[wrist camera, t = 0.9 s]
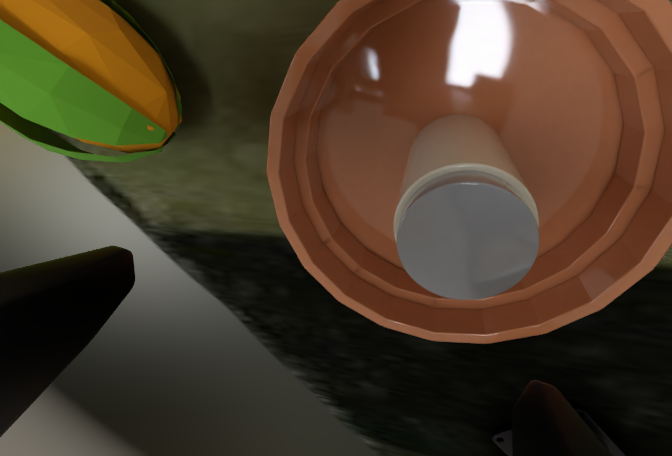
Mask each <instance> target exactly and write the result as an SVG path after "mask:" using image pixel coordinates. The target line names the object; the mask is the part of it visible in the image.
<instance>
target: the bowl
mask: <svg viewBox="0 0 672 456" xmlns="http://www.w3.org/2000/svg"><path fill="white" fill-rule="evenodd" d="M454 114H463V115H469V116H473V117H476V118H479V119H481V120H482V121H484V122H486V123H487V124H488V125H490V126H491V127H492V128H493V130H494V131H495V132H496V134H497V135H498V137H499V138H500V140H501V142H502V144H503V146H504V147H505V149H506V151H507V153H508V154H509V156H510V158H511V160H512V161H513V163H514V165H515V167H516V168H517V170H518V172H519V174H520V176H521V177H522V179H523V181H524V183H525V184H526V186H527V188H528V190H529V191H530V193H531V195H532V197H533V199H534V201H535V203H536V206H537V210H538V215H539V235H540V243H539V250H538V254H537V257H536V259H535V262H534V263H533V265H532V267H531V269H530V270H529V271H528V273H527V274H526V275H525V276H524V277H523V278H522V279H521V280H520V281H519V282H518V283H517V284H515V285H514V286H513V287H511V288H509V289H508V290H506V291H504V292H502V293H499V294H497V295H494V296H491V297H488V298H483V299H476V300H458V299H451V298H446V297H443V296H439V295H437V294H434V293H432V292H430V291H428V290H426V289H425V288H423V287H422V286H420V285H419V284H418V283H417V282H415V281H414V280H413V279H412V278H411V277H410V275H409V274H408V273H407V272H406V270H405V269H404V267H403V265H402V263H401V261H400V259H399V255H398V252H397V244H396V240H395V237H394V230H393V223H394V215H395V211H396V206H397V202H398V198H399V194H400V189H401V185H402V181H403V177H404V172H405V168H406V164H407V160H408V155H409V151H410V148H411V145H412V143H413V141H414V139H415V138H416V136H417V135H418V133H419V132H420V131H421V130H422V129H423V128H424V127H425V126H427V125H428V124H429V123H431V122H433V121H434V120H436V119H439V118H441V117H444V116H448V115H454ZM267 176H268V180H269V184H270V188H271V193H272V197H273V201H274V205H275V209H276V214H277V218H278V222H279V225H280V227H281V228H282V230H283V232H284V233H285V235H286V237H287V239H288V240H289V242H290V244H291V246H292V247H293V249H294V251H295V253H296V254H297V256H298V258H299V259H300V261H301V263H302V265H303V266H304V268H305V269H306V270H307V271H308V272H309V273H310V274H311V275H312V276H313V277H314V278H315V279H316V280H317V281H318V282H320V283H321V284H322V285H323V286H324V287H325V288H326V289H327V290H328V291H329V292H330V293H331V294H332V295H333V296H334V297H335V298H336V299H337V300H338V301H340V302H341V303H342V304H344V305H346V306H348V307H349V308H351V309H353V310H355V311H356V312H358V313H360V314H362V315H363V316H365V317H367V318H369V319H370V320H372V321H374V322H376V323H377V324H379V325H381V326H383V327H386V328H389V329H393V330H396V331H400V332H403V333H406V334H410V335H413V336H417V337H420V338H424V339H427V340H431V341H432V340H433V341H442V342H460V343H479V344H486V343H487V344H489V343H495V342H501V341H506V340H512V339H518V338H524V337H529V336H535V335H541V334H544V333H548V332H550V331H553V330H555V329H557V328H560V327H562V326H564V325H566V324H569V323H571V322H573V321H576V320H578V319H580V318H583V317H585V316H587V315H590V314H592V313H594V312H597V311H599V310H601V308H604V307H605V306H607V305H608V304H609V303H610V302H612V301H613V300H614V299H616V298H617V297H618V296H619V295H621V294H622V293H623V292H625V291H626V290H627V289H628V288H630V287H631V286H632V285H634V284H635V283H636V282H637V281H639V280H640V279H641V278H643V277H644V276H645V275H646V274H648V273H649V272H650V271H652V270H653V269H654V267H656V266H657V264H658V263H659V261H660V260H661V259H662V257H663V256H664V254H665V253H666V252H667V250H668V249H669V247H670V246H671V245H672V4H671V3H670V1H669V0H339V1H338V2H337V3H336V5H335V6H334V7H333V8H332V9H331V11H330V12H329V13H328V14H327V15H326V17H325V18H324V19H323V20H322V21H321V23H320V24H319V25H318V26H317V27H316V29H315V30H314V31H313V32H312V33H311V35H310V36H309V37H308V38H307V39H306V41H305V42H304V43H303V44H302V45H301V47H300V48H299V49H298V50H297V51H296V53H295V55H294V57H293V60H292V62H291V64H290V67H289V69H288V72H287V74H286V77H285V79H284V82H283V84H282V87H281V89H280V92H279V94H278V97H277V99H276V102H275V104H274V107H273V109H272V112H271V115H270V129H269V143H268V157H267Z"/></svg>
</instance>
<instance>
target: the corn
mask: <svg viewBox="0 0 672 456" xmlns="http://www.w3.org/2000/svg"><path fill="white" fill-rule="evenodd" d="M0 122H1V123H3V124H4V125H6V126H7V127H9V128H10V129H12V130H13V131H15V132H16V133H18V134H20V135H21V136H22V137H24V138H26V139H28V140H29V141H31V142H33V143H36V144H37V145H39V146H41V147H43V148H45V149H47V150H49V151H52V152H56V153H59V154H63V155H66V156H70V157H73V158H77V159H80V160H94V161H110V162H128V161H133V160H136V159H139V158H143V157H146V156H149V155H152V154H155V153H159V152H161V151H162V149H163V146H164V145H166V144H168V143H169V142H170V141H171V140H172V139H173V138H174V137H175V136H176V133H175V132H174V130H175V129H176V128H177V129H179V125H180V123H181V122H182V105H181V97H180V94H179V91H178V89H177V87H176V84H175V80H174V77H173V75H172V73H171V72H170V70H169V68H168V66H167V64H166V63H165V61H164V59H163V57H162V55H161V54H160V52H159V50H158V48H157V46H156V45H155V44H154V43H153V41H152V40H151V39H150V38H149V37H148V35H147V34H146V33H145V32H144V31H143V30H142V28H141V27H140V26H139V25H138V24H137V22H136V21H135V20H134V19H133V18H132V16H131V15H130V14H129V13H128V12H127V11H125V10H124V9H123V8H122V7H121V6H119V5H118V4H117V3H116V2H115V1H113V0H0ZM39 124H40V125H42V126H45V127H47V128H50V129H52V130H55V131H57V132H60V133H63V134H65V135H68V136H70V137H74V138H76V139H78V140H80V141H82V142H86V143H90V144H94V145H98V146H102V147H106V148H110V149H114V150H118V151H122V152H126V153H134V152H140V151H148V152H141V153H135V154H128V155H122V156H115V157H110V156H102V155H95V154H92V153H89V152H86V151H83V150H80V149H78V148H76V147H75V146H73V145H71V144H70V143H68V142H66V141H65V140H63V139H62V138H60V137H58V136H57V135H55V134H53V133H52V132H50V131H48V130H47V129H45V128H43V127H42V126H40V125H39ZM177 129H176V130H177Z"/></svg>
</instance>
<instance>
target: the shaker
mask: <svg viewBox="0 0 672 456" xmlns="http://www.w3.org/2000/svg"><path fill="white" fill-rule="evenodd" d="M393 230H394V237H395V240H396V244H397V252H398V255H399V259H400V261H401V263H402V265H403V267H404V269H405V270H406V272H407V273H408V274H409V275H410V277H411V278H412V279H413V280H414V281H415V282H417V283H418V284H419V285H420V286H422V287H423V288H425V289H426V290H428V291H430V292H432V293H434V294H437V295H439V296H443V297H446V298H451V299H458V300H476V299H483V298H488V297H491V296H494V295H497V294H499V293H502V292H504V291H506V290H508V289H509V288H511V287H513V286H514V285H515V284H517V283H518V282H519V281H520V280H521V279H522V278H523V277H524V276H525V275H526V274H527V273H528V271H529V270H530V269H531V267H532V265H533V263H534V262H535V259H536V257H537V254H538V250H539V243H540V235H539V215H538V210H537V206H536V203H535V201H534V199H533V197H532V195H531V193H530V191H529V190H528V188H527V186H526V184H525V183H524V181H523V179H522V177H521V176H520V174H519V172H518V170H517V168H516V167H515V165H514V163H513V161H512V160H511V158H510V156H509V154H508V153H507V151H506V149H505V147H504V146H503V144H502V142H501V140H500V138H499V137H498V135H497V134H496V132H495V131H494V130H493V128H492V127H491V126H490V125H488V124H487V123H486V122H484V121H482V120H481V119H479V118H476V117H473V116H469V115H463V114H454V115H448V116H444V117H441V118H439V119H436V120H434V121H433V122H431V123H429V124H428V125H427V126H425V127H424V128H423V129H422V130H421V131H420V132H419V133H418V135H417V136H416V138H415V139H414V141H413V143H412V145H411V148H410V151H409V155H408V160H407V164H406V168H405V172H404V177H403V181H402V185H401V189H400V194H399V198H398V202H397V206H396V211H395V215H394V223H393Z"/></svg>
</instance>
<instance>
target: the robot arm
mask: <svg viewBox="0 0 672 456" xmlns="http://www.w3.org/2000/svg"><path fill="white" fill-rule="evenodd" d="M134 282H135V272H134V262H133V255H132V253H131V251H129V250H127V249H124V248H121V247H117V246H109V247H105V248H101V249H96V250H92V251H88V252H85V253H80V254H76V255H72V256H68V257H64V258H59V259H55V260H51V261H47V262H43V263H39V264H35V265H31V266H26V267H23V268H18V269H14V270H10V271H6V272H2V273H0V437H1V436H2V435H3V434H4V433H5V432H6V431H7V430H8V429H9V427H10V426H11V425H12V424H13V423H14V422H15V421H16V420H17V419H18V418H19V417H20V416H21V415H22V414H23V413H24V411H26V409H28V407H29V406H30V405H31V404H32V403H33V402H34V401H35V400H36V399H37V398H38V397H39V396H40V395H41V393H43V391H45V389H46V388H47V387H48V386H49V385H50V384H51V383H52V382H53V381H54V380H55V379H56V378H57V377H58V376H59V375H60V374H61V373H62V372H63V370H64V369H65V368H66V367H67V366H68V365H69V364H70V363H71V362H72V361H73V360H74V359H75V358H76V357H77V356H78V354H80V352H81V351H82V350H83V349H84V348H85V347H86V346H87V345H88V344H89V342H90V341H91V340H92V339H93V338H94V336H95V335H96V334H97V333H98V331H99V330H100V329H101V327H102V326H103V325H104V323H106V321H107V320H108V319H109V317H110V316H111V315H112V314H113V312H114V311H115V310H116V308H117V307H118V306H119V305H120V303H121V302H122V301H123V299H124V298H125V297H126V296H127V294H128V293H129V292H130V290H131V289H132V287H133V285H134ZM492 438H493V441H494V442H495V443H496V444H497V445H498V446H499V447H500V448H501V449H502V450H503V451H504V452H505V453H506V454H507V455H508V456H628V455H627V454H626V453H625V452H624V451H623V450H622V449H621V447H620V446H619V445H618V444H617V443H616V442H615V441H614V440H613V439H612V438H611V436H610V435H609V434H608V433H607V432H606V431H605V430H604V429H603V428H602V427H601V425H600V424H599V423H598V422H597V421H596V420H595V419H594V418H593V417H592V416H591V415H590V413H589V412H588V411H587V410H586V409H585V408H584V407H583V406H581V405H570V403H569V402H568V401H567V400H566V399H565V397H564V396H563V395H562V394H561V393H560V391H559V390H558V389H557V388H556V387H554V386H553V385H550V384H547V383H544V382H541V381H537V380H533V381H531V382H530V383H529V384H528V385H527V387H526V388H525V390H524V391H523V392H522V394H521V395H520V397H519V398H518V400H517V401H516V403H515V405H514V407H513V411H512V425H510V426H507V427H504V428H500V429H497V430H495V431H493V432H492Z"/></svg>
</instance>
